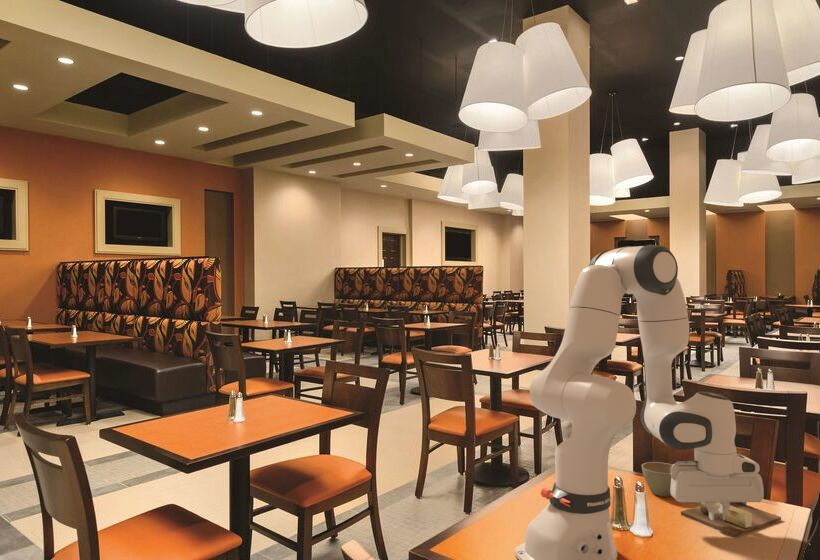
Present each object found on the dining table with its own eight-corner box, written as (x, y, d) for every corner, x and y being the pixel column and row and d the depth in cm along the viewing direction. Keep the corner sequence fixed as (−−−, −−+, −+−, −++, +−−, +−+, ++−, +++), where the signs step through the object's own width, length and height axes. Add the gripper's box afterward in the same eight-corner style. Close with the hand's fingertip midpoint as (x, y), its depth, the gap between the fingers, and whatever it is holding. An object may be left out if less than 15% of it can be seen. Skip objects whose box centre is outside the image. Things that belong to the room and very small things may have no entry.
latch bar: (697, 510, 138) (696, 497, 138) (706, 507, 140) (706, 494, 140) (743, 528, 128) (743, 514, 128) (753, 525, 129) (752, 511, 129)
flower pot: (677, 503, 146) (676, 476, 146) (638, 495, 152) (637, 469, 152) (685, 491, 154) (684, 465, 154) (647, 484, 160) (646, 459, 160)
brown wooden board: (735, 536, 126) (735, 533, 126) (680, 514, 139) (680, 511, 139) (781, 520, 134) (781, 517, 134) (725, 500, 147) (725, 497, 147)
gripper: (676, 465, 128) (677, 525, 128) (766, 465, 127) (768, 525, 127) (665, 457, 134) (666, 513, 134) (751, 456, 133) (753, 514, 133)
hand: (716, 519), depth 130 cm, fingers closed
